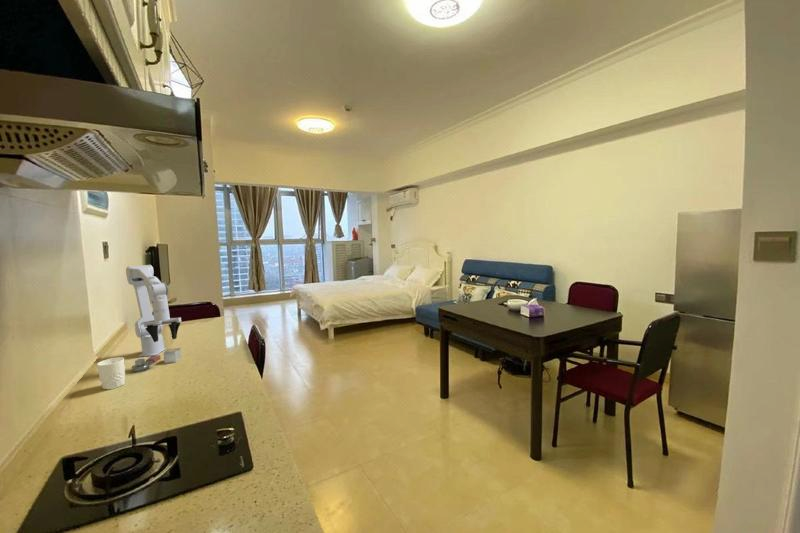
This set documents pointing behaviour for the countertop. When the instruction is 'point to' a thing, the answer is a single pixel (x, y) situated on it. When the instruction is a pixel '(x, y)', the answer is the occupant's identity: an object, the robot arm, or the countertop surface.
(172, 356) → the socket
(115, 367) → the white cup
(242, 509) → the countertop surface
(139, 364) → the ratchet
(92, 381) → the countertop surface
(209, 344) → the countertop surface
